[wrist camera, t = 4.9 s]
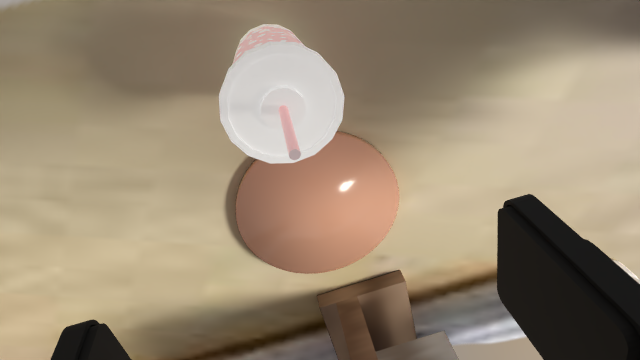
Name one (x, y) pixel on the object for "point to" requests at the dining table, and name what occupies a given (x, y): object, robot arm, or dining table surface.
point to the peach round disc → (318, 207)
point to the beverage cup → (279, 97)
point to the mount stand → (378, 323)
